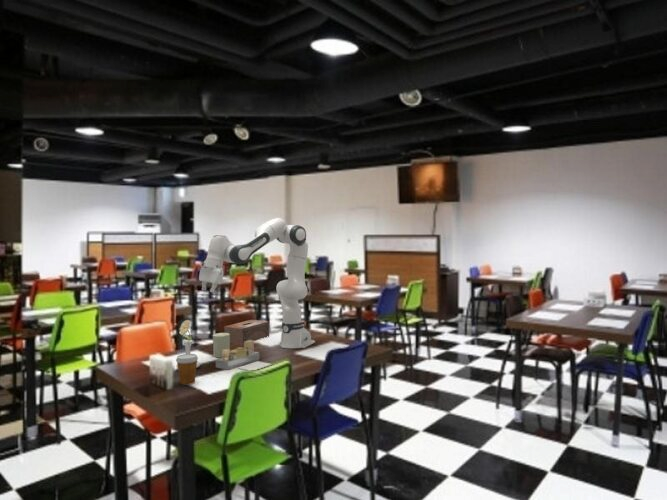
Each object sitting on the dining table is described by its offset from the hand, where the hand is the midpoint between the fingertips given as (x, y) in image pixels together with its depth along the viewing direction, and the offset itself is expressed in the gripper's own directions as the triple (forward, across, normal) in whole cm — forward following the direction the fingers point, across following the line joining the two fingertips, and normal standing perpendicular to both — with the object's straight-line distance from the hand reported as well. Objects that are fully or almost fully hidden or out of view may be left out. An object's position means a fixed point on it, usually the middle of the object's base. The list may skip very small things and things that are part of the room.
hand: (207, 291), depth 240 cm
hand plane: (+33, -12, -20) cm, 40 cm away
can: (+33, +9, -21) cm, 41 cm away
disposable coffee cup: (+42, -24, +11) cm, 49 cm away
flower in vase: (+40, -3, +2) cm, 40 cm away
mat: (+32, -23, -23) cm, 46 cm away
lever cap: (+29, -12, -19) cm, 37 cm away
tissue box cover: (+26, +34, -51) cm, 67 cm away
